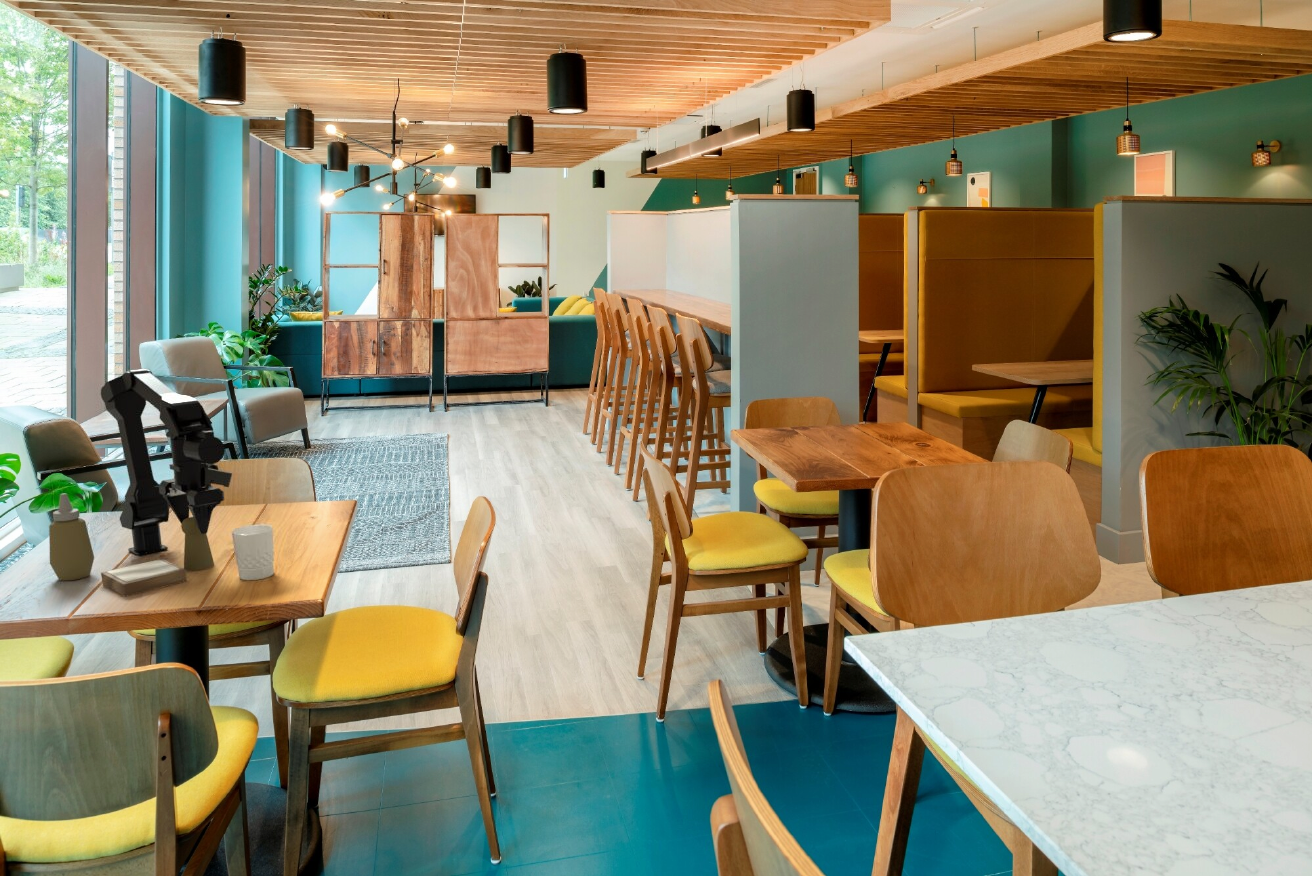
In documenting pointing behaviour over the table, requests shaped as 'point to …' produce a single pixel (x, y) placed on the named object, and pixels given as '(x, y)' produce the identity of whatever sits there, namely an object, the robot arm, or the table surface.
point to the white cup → (254, 551)
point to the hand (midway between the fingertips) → (194, 529)
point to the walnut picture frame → (143, 577)
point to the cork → (196, 547)
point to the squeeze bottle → (69, 543)
